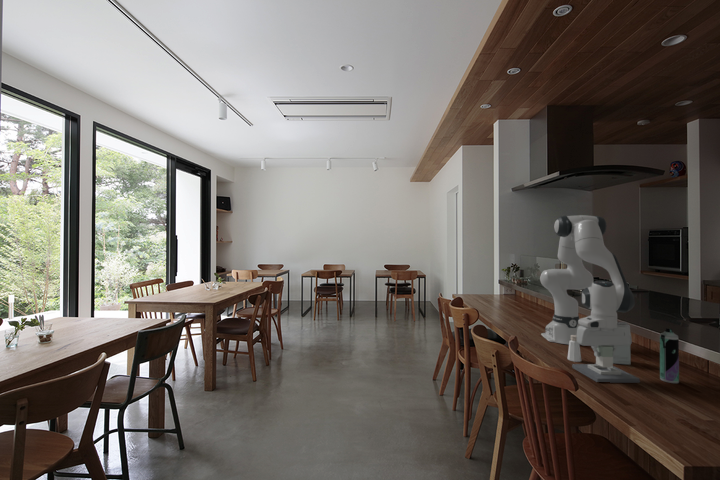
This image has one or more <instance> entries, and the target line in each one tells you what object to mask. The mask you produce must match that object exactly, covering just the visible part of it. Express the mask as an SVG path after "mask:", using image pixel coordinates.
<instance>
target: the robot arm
mask: <svg viewBox="0 0 720 480" xmlns="http://www.w3.org/2000/svg"><path fill="white" fill-rule="evenodd" d="M553 226H554V233H555V234H556V236H559V242H558V249H557V259H558V260H559V261H560V262H561V263H563V264H564V265H566V266H567V267H566V268H550V269H543V271H542V272H541V274H540V277H539V281H540V283H541V286H542V287H544V288H545V289H546V290H547V291H548V292H549V293H550V294H551V296H552V299H553V303H554V304H553V305H554V313H553V314H552V320H551V321H550V322H549V323H548V324H546V326H545V328H544V330H545V332H542V333H541V334H540V335H541V336H542V337H543V338H544V339H545V340H547V341H548V342H551V343H557V344H562V345H568V346H569V341H570V340H571V335H576V336H577V342H578V343H579V345H580V346H583V347H584V346H590V348H591V349H592V351H593V355H594V357H595V358H596V357H600V356H601V355H600V354H601V352H598V350H597V348H598V346H612V347H613V357H614V352H615V351H616V349H617V346H630V347H631V344H632V343H633V341H632V340H633V339H632V333H631V325H630V324H629V323H628V322H627V321H618V313H627V312H629V311H631V310H632V309H633V308H634V307H635V305H636V301H635V297H634V296H635V295H634V293H633V291H632V290H631V288H630V287H629V284H628V282H627V280H626V277H625V274H624V273H623V270H622V267H621V264H620V262H619V260H618V258H617V256H616V255H615V253H613V252H611V251H610V250H609V249H608V248H607V247H606V245H605V243H604V234H605V233H606V231H607V222H606V219H605V218H604V217H602V216H599V215H587V214H584V215H583V214H579V215H562V216H561V215H560V216H558V217H557V218H556V219H555V222H554V225H553ZM583 261H585V262H587V263H589V264H593V265H595V266H599V267H601V268H603V269H604V270H606V271H607V272H608V275H609V277H610V279H611V281H608V280H595V281H594V276H593V274H592V273H591V272H590V271H589V270H588V269H586V267H585V265H584V263H583ZM568 290H578V291H580V290H582V291H581V293H580V294H581V295H580V296H581V301H580V302H581V304H582V305H583V307H585V308H586V309H589V310H591V311H590V315H588V316H586V317H582V318H580V316H579V301H578V300H577V299H576V298H575V297H572V296H571V295H569V294H568Z"/></svg>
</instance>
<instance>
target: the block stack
mask: <svg viewBox="0 0 720 480" xmlns="http://www.w3.org/2000/svg"><path fill="white" fill-rule="evenodd" d="M597 350H598V352H601V354H600V355H601V356H600V357H596V356H595V364H598V365H600V366H602V367H613V366H614V363H613V347H612V346H598V348H597Z"/></svg>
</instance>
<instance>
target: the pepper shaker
mask: <svg viewBox="0 0 720 480" xmlns="http://www.w3.org/2000/svg"><path fill="white" fill-rule="evenodd" d="M580 346H581V344H579V343H578V342H577V336H576V335H571V340H570V341H569V345H568V350H567V351H568V352H567V360H568V361H570V362H577V363H579V362H582V356H581V355H582V353H581V347H580Z"/></svg>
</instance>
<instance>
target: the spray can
mask: <svg viewBox="0 0 720 480" xmlns="http://www.w3.org/2000/svg"><path fill="white" fill-rule="evenodd" d="M679 343H680V341H679V335H678V334H676V333H674V331H673V329H672V328H667V327H666V328H665V330H664V331H663V332H660V333H659V380H660V381H663V382H665V383H671V384H679V383H680V356H679V353H680V352H679V351H680V350H679V347H680V344H679Z"/></svg>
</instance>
